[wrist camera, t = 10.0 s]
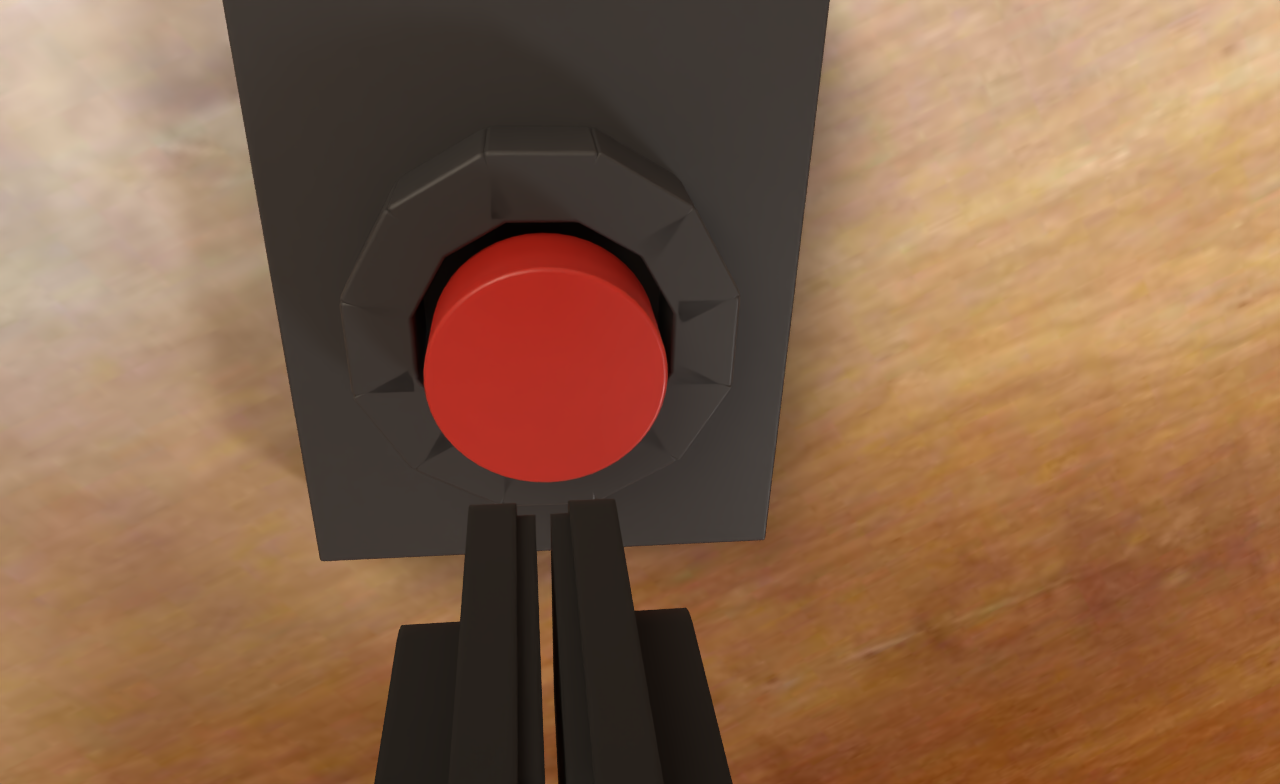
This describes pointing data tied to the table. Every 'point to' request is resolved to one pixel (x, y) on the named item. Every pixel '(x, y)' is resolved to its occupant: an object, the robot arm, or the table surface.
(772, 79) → the control block
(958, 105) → the table surface
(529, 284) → the red button
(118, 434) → the table surface
